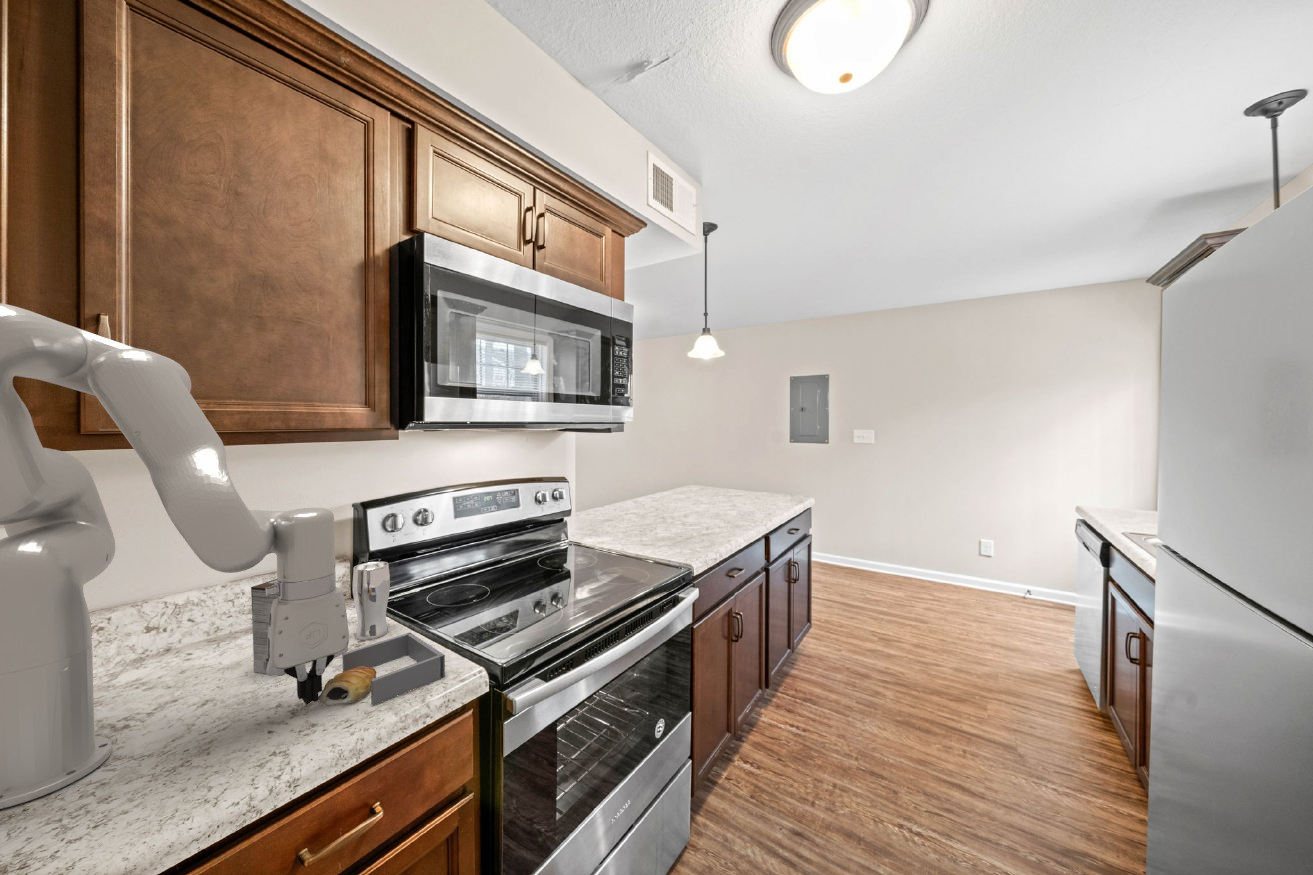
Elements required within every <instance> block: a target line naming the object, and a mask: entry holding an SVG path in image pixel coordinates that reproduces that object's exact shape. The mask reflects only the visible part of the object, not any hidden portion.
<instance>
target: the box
mask: <svg viewBox="0 0 1313 875" xmlns="http://www.w3.org/2000/svg"><path fill="white" fill-rule="evenodd" d="M406 656H409V657H410V658H411V659H413V660H414V661H415V663H414V664H410V665H408V666H404V667H402V668H399V669H396V670H394V671H391V672H388V673H386V674H383V675H379V676H376V678H374V679H371V689H370V704H371V705H372V706H373V705H374V706H376V705H379V704H381V703H383V702H382V701H384V702H386V701H388V699H389V700H391V699H394V698H396V697H398V696H397V695H399V696H401V695H403V693H404V694H406V693H408V691H409V692H410V690H411V691H413V689H414V690H416V689H418V688H421V687H423V686H426V685H428V684H431V683H433V682H436V681H439V680H441V679H443V678H445V677H446V674H445V673H446V672H445V670H446V668H445V667H446V664H445V662H446V659H445V658H446V655H445V654H444V653H442V652H441V651H439V650H438V649H436V648H435V647H433V645H430V644H428V643H427V642H426V641H424V640H423V639H421V638H419V637H418V636H416V635H415V634H413V633H412V632H407V633H403V634H400V635H398V636H394V637H391V638H387V639H385V640H381V641H378V642H375V643H372V644H369V645H365V646H362V647H360V648H356V649H353V650H348V651H347V652H346V653H344V654H342V655H341V657H342V658H341V659H342V672H345V671H348V670H350V669H354V668H357V667H360V666H365V667H370V668H374V667H377V666H379V665H382V664H385V663H389V662H391V661H394V660H397V659H400V658H403V657H406ZM415 688H416V689H415ZM405 692H406V693H405ZM395 696H396V697H395ZM393 697H394V698H393ZM390 698H391V699H390ZM378 703H379V704H378ZM375 704H376V705H375Z"/></svg>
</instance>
